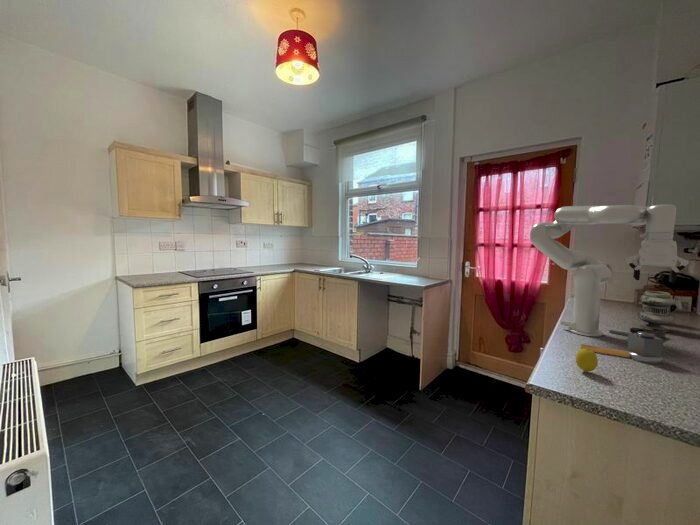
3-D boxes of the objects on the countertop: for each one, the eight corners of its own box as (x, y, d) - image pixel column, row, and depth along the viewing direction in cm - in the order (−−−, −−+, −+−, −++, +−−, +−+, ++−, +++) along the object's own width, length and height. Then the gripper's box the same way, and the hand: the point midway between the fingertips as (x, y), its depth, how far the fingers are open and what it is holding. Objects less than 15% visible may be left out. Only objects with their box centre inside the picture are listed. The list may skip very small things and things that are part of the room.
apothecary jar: (641, 330, 140) (644, 292, 139) (633, 323, 151) (636, 289, 149) (677, 334, 134) (680, 295, 133) (667, 327, 144) (670, 291, 143)
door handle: (603, 330, 133) (652, 338, 119) (622, 324, 143) (669, 331, 129) (603, 337, 133) (652, 346, 119) (622, 331, 143) (669, 338, 129)
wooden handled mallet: (582, 352, 112) (582, 340, 112) (579, 345, 120) (580, 334, 119) (665, 366, 100) (667, 352, 99) (657, 357, 107) (658, 344, 107)
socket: (643, 357, 103) (644, 336, 102) (627, 350, 109) (628, 330, 109) (661, 357, 103) (663, 336, 102) (644, 350, 109) (646, 330, 108)
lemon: (598, 377, 92) (600, 352, 91) (575, 373, 95) (577, 349, 94) (595, 371, 96) (596, 347, 96) (574, 367, 99) (575, 344, 99)
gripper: (630, 236, 115) (626, 280, 116) (695, 237, 105) (690, 284, 107) (626, 236, 121) (622, 277, 123) (687, 237, 112) (682, 281, 113)
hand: (653, 281), depth 115 cm, fingers open, 9 cm apart
